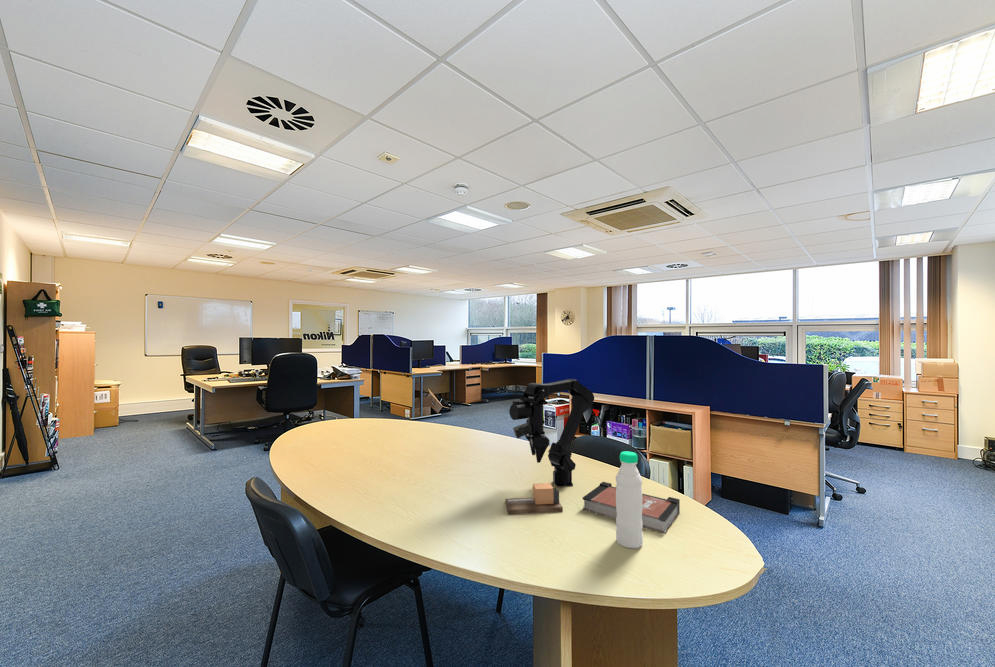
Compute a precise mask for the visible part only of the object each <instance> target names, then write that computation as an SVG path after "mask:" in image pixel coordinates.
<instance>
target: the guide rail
mask: <svg viewBox="0 0 995 667" xmlns="http://www.w3.org/2000/svg"><path fill="white" fill-rule="evenodd" d="M553 494H554V500H553V504H559V502H560V491H559V490H558V488H557V487H553ZM534 503H535V499H534V498H533V499H512V500H508V505H514V504H534Z"/></svg>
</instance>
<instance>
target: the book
mask: <svg viewBox="0 0 995 667" xmlns="http://www.w3.org/2000/svg"><path fill="white" fill-rule="evenodd" d="M612 485H613V484H612V483H611V482H605V481H602V482H601V483H599V485H597V487H595V488H594V489H592V490H591V491H590V492H588V493H587V494H585V495H584V496H582V500H583V501H584V503H583V504H584V506H583V508H582V510H583V511H586V512H589V511H590V513H594V514H596V513H597V514H596V515H600V516H603V517H606V516H607V518H610V519H613V518H614V520H616V516H617V512H616V486H612ZM680 507H681V506H680V498H676V497H675V498H674V497H672V496H671V497H670V496H668V497H667V498H663V497H659V496H654V495H649V494H646V493H642V523H643V527H642V528H645V529H648V530H653V531H656V532H659V533H662V534H667V532H668V530H670V528H671V526H672V524H673V523H674V522H675V521H676V519H677V518H678V516H679V515H680V512H681V510H680Z"/></svg>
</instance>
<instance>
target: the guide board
mask: <svg viewBox="0 0 995 667" xmlns="http://www.w3.org/2000/svg"><path fill="white" fill-rule="evenodd" d="M512 499H533V496H532V497H513V498H511V497H510V498H504V504H506V505H505V507H506V512H507V514H508V515H524V514H527V513H528V514H543V512H544V514H545V512H547V513H561V512H562V511H563V510H564V509H563V508H564V507H563V505H562V504H561V502H560V501H559V504H537V505H536V504H535V503H534V504H514V505H508V500H512Z"/></svg>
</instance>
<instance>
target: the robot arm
mask: <svg viewBox="0 0 995 667" xmlns="http://www.w3.org/2000/svg"><path fill="white" fill-rule="evenodd" d="M563 392H568V394H569V395H570V396H571V399H570V400H571V406H572V407H571V410H570V412H569V415H568V418H567V420H566V423H565V425H564V428H563V429H562V433H561V435H560V436H559V439H558V440H557V442H552V443H551V444H550V439H549V437H547V435H545V434H546V433H545V431H544V430H545V429H544V428H545V427H544V426H545V425H544V424H546V423H545V422H546V421H545V420H544V406H545V405H548V404H549V402H548V401H547V400H546V398H549V396H550V395H554V394H558V393H563ZM594 401H595V396H594V392H593V391H592V390H589V388H587V387H586V386H584V385H583V384H581V382H580V381H578V380H577V379H573V378H567V379H564V380H559V381H555V382H554V381H553V382H548V383H542V382H541V383H538V382H537V383H536V382H530V383H529V382H528V384H527V385H526V387H525V390H524V392H523V393H522V395H521V397H520V398H519V400H512V404H511V405H510V407H509V409H508V410H509V411H508V413H509V417H510V418H511V420H513V421H517V420H518V421H519V420H523V419H524V420H525V419H526V422H524V423H522V424H519V425H516V426H515V427H513V428H512V430H513V433H514V435H515V437H516V439H521V438H522V437H525V439H527V440H528V442H529V443H528V444H529V447H530V452H531V455H532V456H535V458H536V463H539V464H540V463H541V461H542V460H543V457H544V456H545V452H546V451H547V448H548V447H549V446H550V447H549V449H548V451H547V452H548V454H547V457H548V460H549V462H550V465H551V467H554V468H553V470H552V482H553V483H554V485H555V486H556V487H573V486H574V484H573V478H572V476H573V471H575V469H576V466H577V464H576V463H575V461H573V459H572V453H573V452H572V444H573V441H574V439H575V436H576V433H577V431H578V428H579V425H580V424H581V420H582V418H583V416H584V413H585V412H586V411H588V410H589V409H590V408H591V406H592V405H593V403H594Z"/></svg>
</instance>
